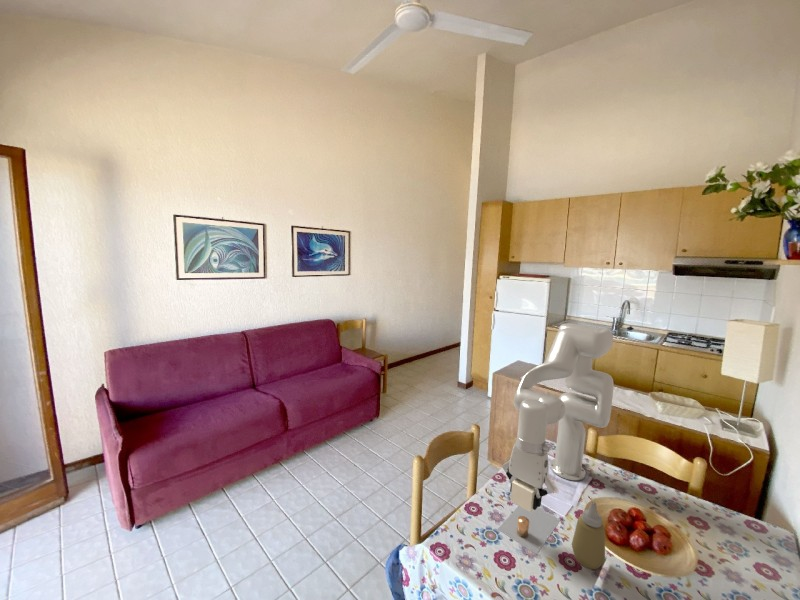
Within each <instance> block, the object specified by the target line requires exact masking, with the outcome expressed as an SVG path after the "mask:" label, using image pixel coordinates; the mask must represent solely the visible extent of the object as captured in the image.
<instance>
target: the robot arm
mask: <svg viewBox="0 0 800 600" xmlns="http://www.w3.org/2000/svg"><path fill="white" fill-rule="evenodd" d="M613 345H614V335H613V333H612V332H611V330H610V329H607V328H604V327H598V326H597V327H596V326H592V325H591V326H590V325H584V324H578V323H577V324H576V323H568V322H567V323H561V324H560V326H559V328H558V331H557V332H556V334H555V337H554V339H553V342H552V344H551V346H550V349H549V352H548V354H547V356H546V359H545V361H544V362H543V363H539V364H538V365H537V366H534V367H533V368H531V369H529V371H527V372H526V373H525V374H524V375H523V376H522V378H520V379H521V380H520V382H519V383H518V386H517V388H516V391H515V393H514V396H513V397H514V398H513V405H514V408H515V409H516V410H517V411H518V412H519V415H518V423H517V425H518V426H517V436H516V441H515V442H514V444H513V447H512V449H511V450H512V451H511V454H510V458H509V461H507V462H505V463H502V465H501V468H502V469H503V470H504V473H505V475H506V477H507V478H508V481H509V484H510V488H509V489H510V490H509V492H510V493H511V489H512V482H513V481H514V480H516V478H518V479H520V480H522V481H524V482H526V483H528V484H530V485H532V486H534V490H535V494H536V495H535V496H534V502H533V509H534V510H536V508H537V507H538V508H540V507H541V505H542V500H543V499H542V497H545V496H547V495H550V494H553V493H554V492H555V490H556V488H555V487H554V485H553V483H552V482H551V480H550V479H549V468H550V469H551V471H552V472H553V473H554V474H556V475H558V477H561V478H563V479H566V480H569V481H582V480H583V479H585V478H586V470H585V469H584V467H583V457H584V449H585V442H586V429H585V426H584V424H583V423H585V424H588V425H590V426H594V427H597V428H606V427H608V425H609V423H610V419H611V414H612V406H613V404H612V403H613V399H614V398H613V397H614V389H615V387H614V379H613V377H612V375H610V374H609V373H607V372H604V371H599V370H594V369H593V359H595V360H596V359H600V358H602V357H603V356H606V354H608V353H609V351H610V350H611V349H612V346H613ZM560 379H564V383H565V387H566V388H567V389H568V390H570V391H573V392H568V391H566V392H563V393H562V394H560V395H559V397H555V396H553V395H550V394H546V393H543V392H540V391H537V390H534V389H533V387H534V386H535V385H537V384H539V383H541V382H544V381H551V380H560ZM575 392H576V393H575ZM579 393H580V394H579ZM585 395H587V396H585ZM593 397H594V398H593ZM556 423H558V425H557V426H558V427H557V435H556V436H557V437H556V443H555V444H556V447H555V457H554V458H553V459H552V460H551V461H549V455H548V453H549V452H550V450H551V447H550V446H548V445H547V441H546V440H547V439H546V437H547V431H548V430H547V429H548V426H549V425H552V424H556ZM549 462H550V463H549ZM543 485H545V488H544V487H543Z"/></svg>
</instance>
